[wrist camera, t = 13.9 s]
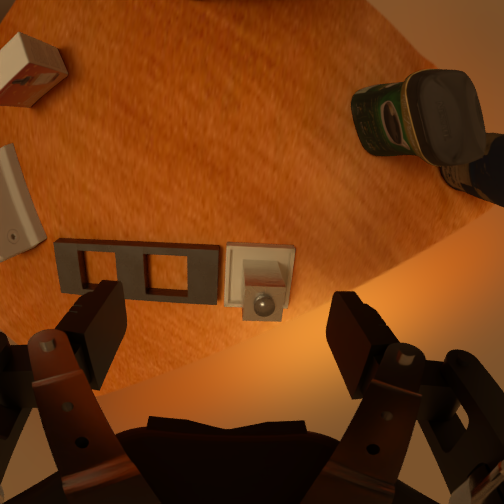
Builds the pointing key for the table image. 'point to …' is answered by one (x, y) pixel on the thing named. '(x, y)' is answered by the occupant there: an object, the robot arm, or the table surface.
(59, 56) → the small box
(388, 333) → the robot arm
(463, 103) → the coffee jar
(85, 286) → the rack rail
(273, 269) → the grey rectangular block
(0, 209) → the beige device enclosure
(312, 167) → the table surface
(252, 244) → the parts tray
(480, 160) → the canister
